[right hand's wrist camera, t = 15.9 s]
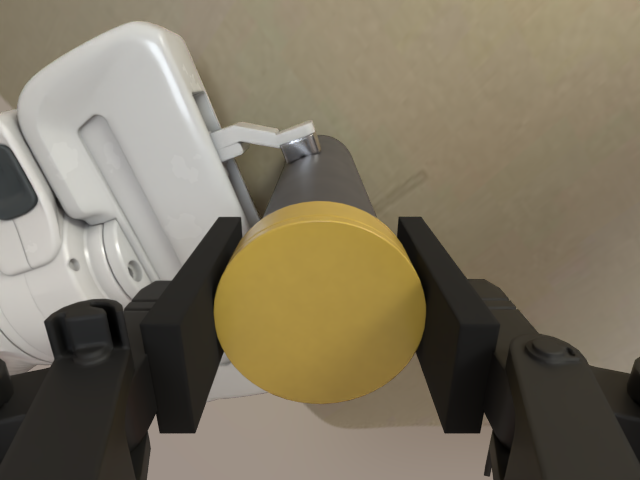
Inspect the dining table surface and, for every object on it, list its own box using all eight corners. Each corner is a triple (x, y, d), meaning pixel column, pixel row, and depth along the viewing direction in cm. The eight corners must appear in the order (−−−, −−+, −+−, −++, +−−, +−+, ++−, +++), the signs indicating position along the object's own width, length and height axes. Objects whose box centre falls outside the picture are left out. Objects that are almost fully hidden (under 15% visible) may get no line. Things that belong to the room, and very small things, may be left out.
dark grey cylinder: (358, 139, 27) (422, 237, 10) (348, 206, 28) (389, 385, 12) (289, 131, 27) (236, 216, 10) (283, 198, 28) (229, 370, 12)
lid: (257, 171, 11) (247, 187, 9) (444, 238, 11) (464, 263, 10) (206, 336, 12) (190, 372, 11) (369, 384, 13) (376, 425, 12)
